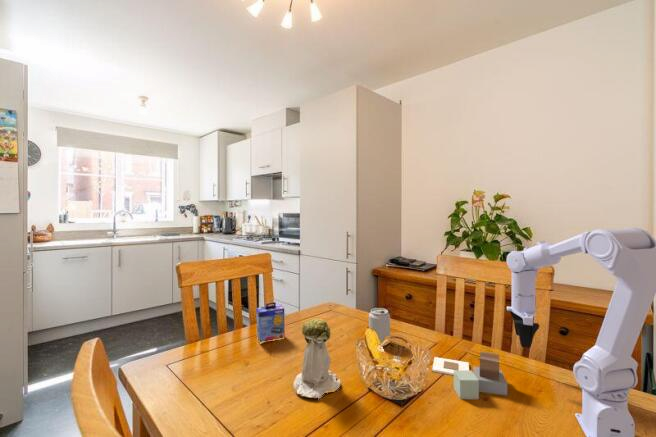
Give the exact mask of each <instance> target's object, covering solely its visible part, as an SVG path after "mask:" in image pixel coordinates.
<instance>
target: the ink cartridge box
mask: <svg viewBox="0 0 656 437" xmlns="http://www.w3.org/2000/svg"><path fill="white" fill-rule="evenodd" d="M255 310H256V311H255V312H256V333H257V334H256V335H257V336H256V337H258V339H257V341H258V340H259V341H260V342H262V341H268V340H273V339H279V338H283V337H285V332H286V331H285V328H286V327H285V308H284V306H283V305H282V304H277V302H276V301H275V302H274V301H273V302H269V303H266V305H265V306H260V307H256V308H255ZM285 338H286V337H285Z"/></svg>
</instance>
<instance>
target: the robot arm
mask: <svg viewBox="0 0 656 437" xmlns="http://www.w3.org/2000/svg"><path fill="white" fill-rule="evenodd" d="M579 253H583V254H585V255H586V254H589V255H590V256H591V257H592V258H593V259H594V260H595V261H597V263H598V264H599V265H601V266H602V267H603V268H604V269H605V270H607V271H608V272H609V274H611V275H613V276H614V277H615V278H616V284H615V287H614V290H613V292H612V296H611V298H610V301H609V305H608V307H607V309H606V312H605V316H604V319H603V321H602V325H601V327H600V330H599V332H598V336H597V338H596V341H595V345H593V346H592V347H591V348H589V349H588V350H586V352H584V353H583V354H582V357H581V358H580V360H578V361H576V362H575V363H574V365H573V369H572V370H573V377H574V379H575V380H576V382H577V384H578V385H579V387H580V389H581V390H582V391H581V396H582V398H581V413H578V412H576V413H575V414H574V416H575V418H576V420H577V422H578V423H579V424H578V425H579V426H580V427H581V429H582V432H583V433H584V435H585V436H586V437H635V436H636V424H635V420H634V418H633V416H632V415H631V413H630V411H629V408H628V399H629V398H628V396H629V395H630V390H631V389H633V388H635V387H636V386H637V384H638V383H639V382H638V380H639V379H638V375H637V374H638V373H637V369H638V366H639V363H638V362H637V360H636V359H634V357H632V354H633V352H634V349H635V346H636V344H637V342H638V339H639V336H640V334H641V331H642V330H643V326H644V324H645V321H646V320H647V319H646V318H647V317H648V314H649V311H650V309H651V307H652V304H653V301H654V299H655V297H656V239H655V238H654V237H653V236H652V235H651V233H650V232H648V231H647V230H645V229H644V228H641V227H640V228H639V227H628V228H616V229H615V228H614V229H612V228H611V229H604V228H598V229H593V230H592V231H583V232H582V233H579V234H578V235H576V236H572V237H570V238H567V239H565V240H563V241H562V240H561V241H560V242H556V243H552V242H549V241H547V242H546V241H538V242H536V245H534V246H531V247H530V246H526V247H523V250H512V251H511V252H509V253H508V254H507V256H506V265H507V267H508V269H509V270H510V271H511V293H510V294H511V305H510V306H506V311H508V312H509V313H510V315H511V318H512V321H513V325H514V330H515V334H516V336H517V337H518V338H519V343H520V345H521V348H528V349H530V348H531V346H532V344H533V340H534V337H535V335H536V332H537V331H538V330H539V328H540V324H539V323H537V322H534V318H535V316H536V315H537V310H536V297H537V296H536V285H537V284H536V281H537V280H536V279H537V277H538V275H539V273H538V272H539V270H540V269H542V268H545V267H549V266H554V265H557V264H559V263H560V262H561V259H562V258H563V257H567V256H570V255H575V254H579Z"/></svg>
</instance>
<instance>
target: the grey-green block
mask: <svg viewBox="0 0 656 437" xmlns="http://www.w3.org/2000/svg"><path fill="white" fill-rule="evenodd" d="M453 389H454V391H455V392H456V395H457V396H458V398H459V400H479V399H480V397H479V396H480V394H479V393H480V392H479V380H478V379H477V377H476V376H475V375H474V373H473V371H472V370H469V371H466V370H454V375H453Z"/></svg>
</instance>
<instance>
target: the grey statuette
mask: <svg viewBox="0 0 656 437" xmlns="http://www.w3.org/2000/svg"><path fill="white" fill-rule="evenodd" d="M301 332H302V335H303V336H304V340H305V341H306V343H307V344H306V345H305V348H304V352H303V353H304V354H303V360H302V367H301V372H300V373H299V374H297V375H296V376H295V378H294V381H293V384H292V385H293V390H294V389H295V390H296V391H297V395H300V396H301V397H306V398H314V399H317V398H318V400H319V398H321V396H322V395H323V394H324V393H325V392H326V391H333V390H337V389H338V388H339V387H341V379H340V377H338V379H337V374H336V373H334V374H331V373H332V371H331V370H329V368H330V365H331V356H330V355H329V350H328V349H327V344H326V342H327V341H329V339H330V338H331V327H330V326H329V325H328V323H327V322H326V320H324V319H321V318H312V319H310V320H308V321H306V322H303V326H302V330H301ZM336 379H337V380H336ZM339 389H340V388H339ZM339 389H338V390H339ZM338 390H337V391H338ZM324 395H325V394H324ZM324 395H323V396H324ZM323 396H322V397H323ZM321 399H322V398H321Z"/></svg>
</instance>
